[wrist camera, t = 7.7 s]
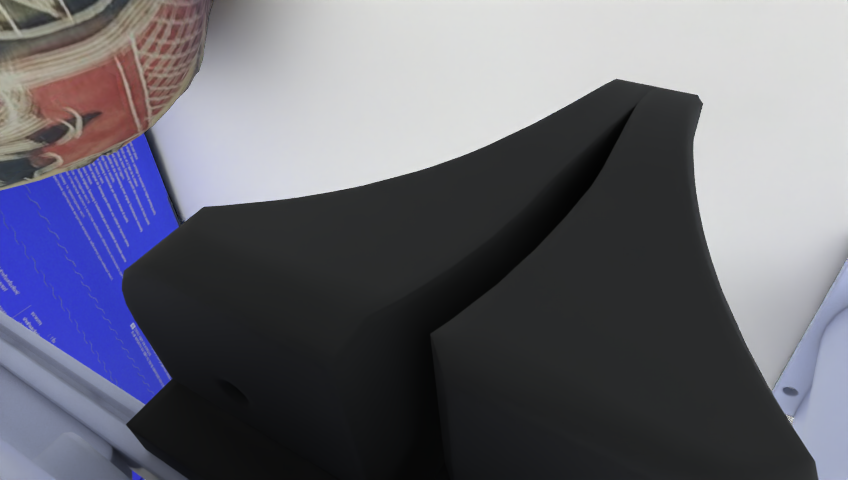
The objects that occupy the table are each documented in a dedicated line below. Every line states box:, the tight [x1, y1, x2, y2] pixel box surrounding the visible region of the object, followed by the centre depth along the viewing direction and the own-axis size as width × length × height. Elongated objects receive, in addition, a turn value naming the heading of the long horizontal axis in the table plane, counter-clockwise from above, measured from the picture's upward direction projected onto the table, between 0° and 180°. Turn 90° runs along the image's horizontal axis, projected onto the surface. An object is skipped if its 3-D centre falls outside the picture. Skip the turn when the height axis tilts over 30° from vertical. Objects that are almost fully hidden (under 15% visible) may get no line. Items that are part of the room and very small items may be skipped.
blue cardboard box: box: [0, 133, 181, 480], centre depth 45 cm, size 39×8×18 cm, turn 178°
